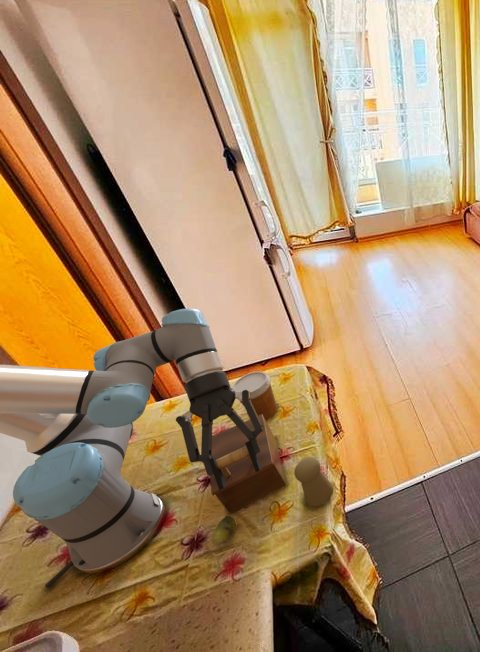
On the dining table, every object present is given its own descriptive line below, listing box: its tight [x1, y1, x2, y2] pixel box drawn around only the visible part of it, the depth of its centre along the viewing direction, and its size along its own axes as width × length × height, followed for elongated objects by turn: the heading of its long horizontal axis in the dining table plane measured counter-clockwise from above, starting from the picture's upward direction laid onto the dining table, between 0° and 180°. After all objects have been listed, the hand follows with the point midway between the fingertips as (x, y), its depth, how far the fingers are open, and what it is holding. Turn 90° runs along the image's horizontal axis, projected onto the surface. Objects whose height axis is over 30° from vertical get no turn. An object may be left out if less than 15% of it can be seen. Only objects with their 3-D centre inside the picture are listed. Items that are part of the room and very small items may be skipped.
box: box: [214, 418, 287, 515], centre depth 86 cm, size 16×12×9 cm
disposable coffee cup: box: [231, 371, 278, 421], centre depth 102 cm, size 10×10×12 cm
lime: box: [211, 515, 238, 545], centre depth 75 cm, size 4×5×5 cm
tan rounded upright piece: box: [294, 456, 334, 507], centre depth 80 cm, size 6×6×11 cm
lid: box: [210, 414, 274, 496], centre depth 82 cm, size 17×12×6 cm
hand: (241, 478), depth 76 cm, fingers closed on lid, 6 cm apart
